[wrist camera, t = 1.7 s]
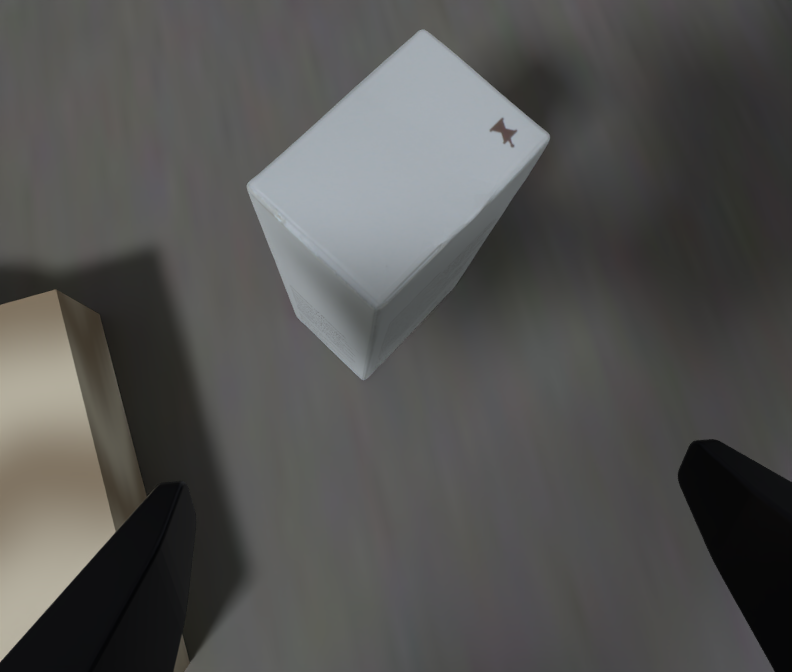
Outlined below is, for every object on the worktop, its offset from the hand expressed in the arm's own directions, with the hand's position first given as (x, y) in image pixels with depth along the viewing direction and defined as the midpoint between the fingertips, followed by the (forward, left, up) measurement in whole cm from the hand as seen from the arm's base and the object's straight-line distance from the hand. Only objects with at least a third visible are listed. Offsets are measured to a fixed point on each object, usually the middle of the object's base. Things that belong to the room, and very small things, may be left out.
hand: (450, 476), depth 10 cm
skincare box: (+7, -2, -13) cm, 15 cm away
